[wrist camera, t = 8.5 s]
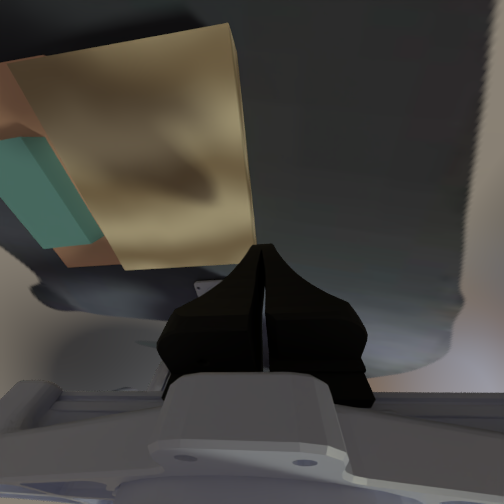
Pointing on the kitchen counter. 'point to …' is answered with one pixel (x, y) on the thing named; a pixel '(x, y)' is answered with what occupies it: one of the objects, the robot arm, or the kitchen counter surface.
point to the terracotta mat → (27, 125)
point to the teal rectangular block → (44, 194)
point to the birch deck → (153, 143)
